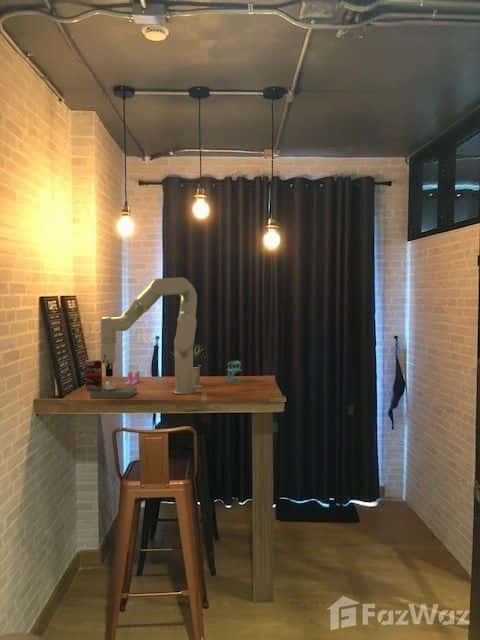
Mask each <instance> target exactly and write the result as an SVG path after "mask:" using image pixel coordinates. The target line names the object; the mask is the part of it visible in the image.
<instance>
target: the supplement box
mask: <svg viewBox="0 0 480 640" xmlns="http://www.w3.org/2000/svg"><path fill="white" fill-rule="evenodd" d="M102 364H103V363H101V359H86V360H85V390H86V391H90V390H91V391H93V390H95V389H97V388H99V387H103V365H102Z"/></svg>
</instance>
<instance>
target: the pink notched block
mask: <svg viewBox="0 0 480 640" xmlns="http://www.w3.org/2000/svg"><path fill="white" fill-rule="evenodd" d="M127 376H128V377H127V379H128V380H127V381H126V382H124V387H134V386H135V385H136V383H137V384H139V382H140V371H139V370H135V373H134V377H135V379H133V371H132V370H128V373H127Z"/></svg>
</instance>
